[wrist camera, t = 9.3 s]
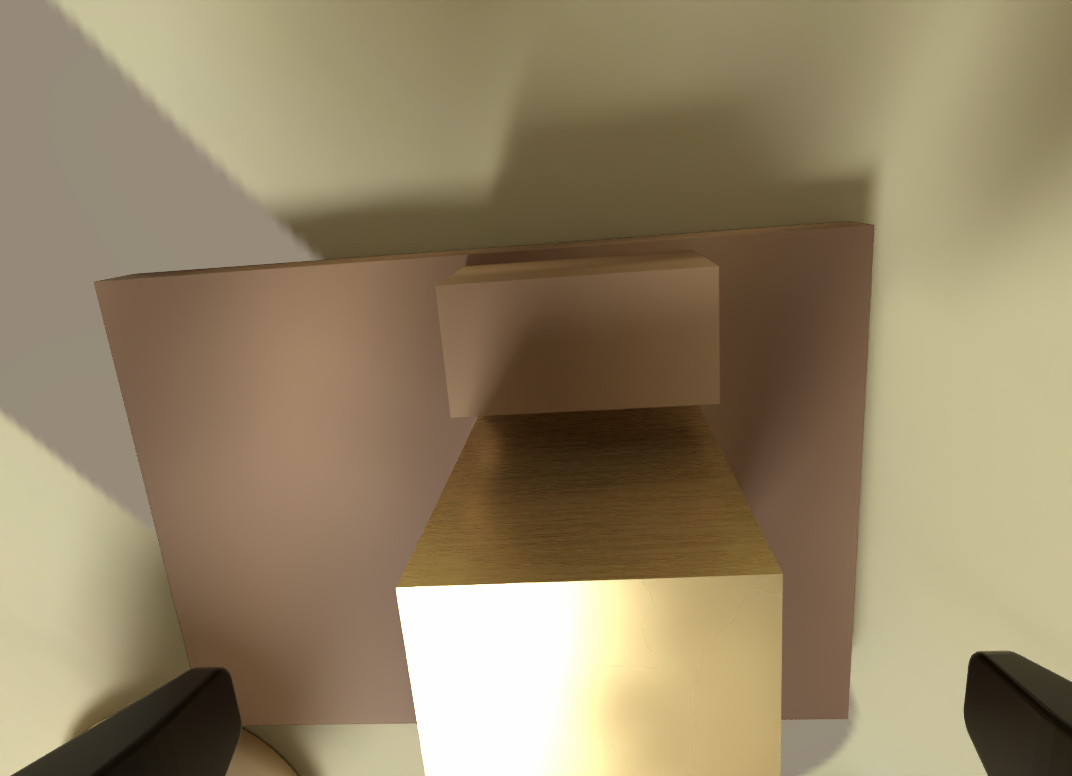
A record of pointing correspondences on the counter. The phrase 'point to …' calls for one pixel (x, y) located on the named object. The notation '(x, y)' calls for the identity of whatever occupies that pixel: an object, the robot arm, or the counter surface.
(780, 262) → the notch board
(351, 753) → the counter surface
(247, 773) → the bobbin
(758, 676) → the tan block
